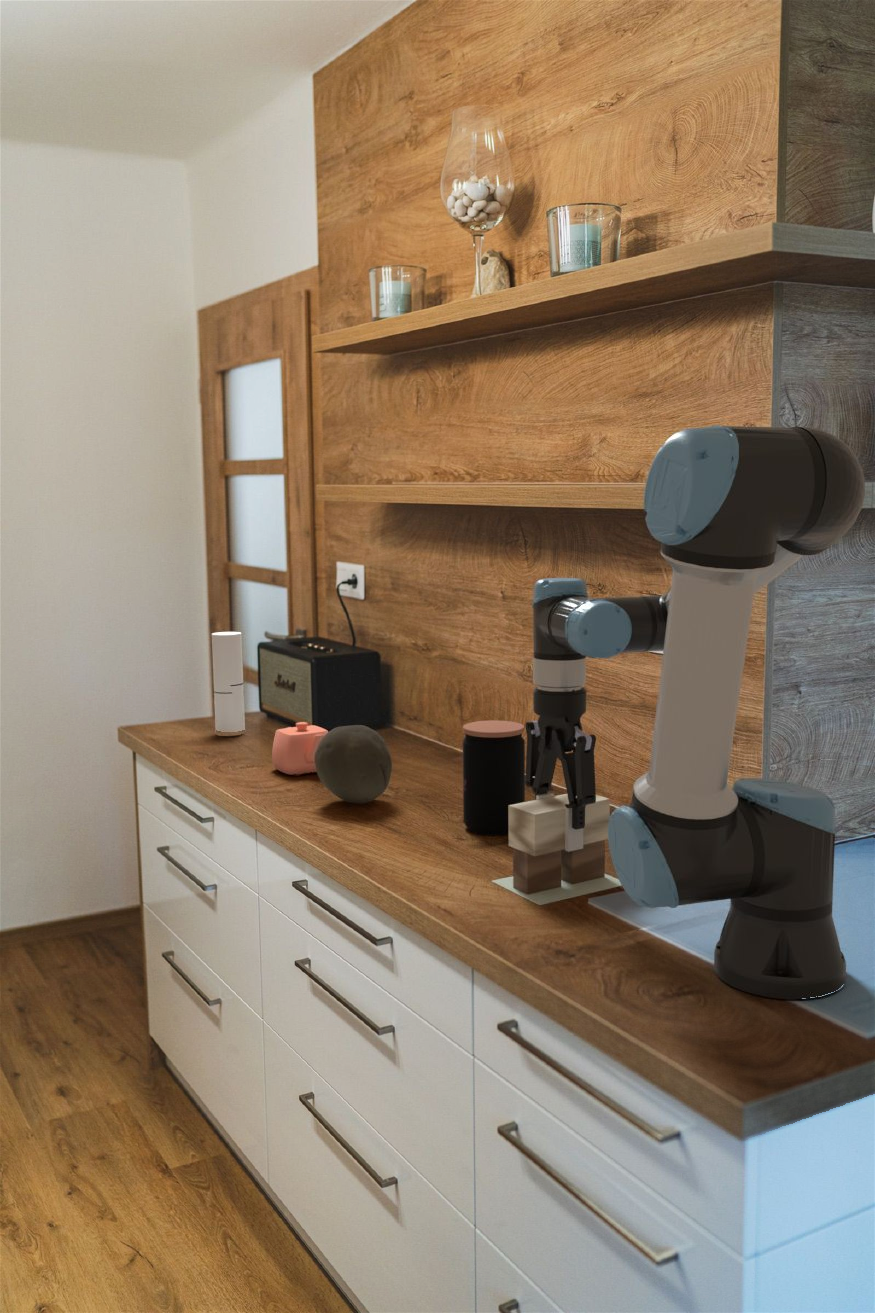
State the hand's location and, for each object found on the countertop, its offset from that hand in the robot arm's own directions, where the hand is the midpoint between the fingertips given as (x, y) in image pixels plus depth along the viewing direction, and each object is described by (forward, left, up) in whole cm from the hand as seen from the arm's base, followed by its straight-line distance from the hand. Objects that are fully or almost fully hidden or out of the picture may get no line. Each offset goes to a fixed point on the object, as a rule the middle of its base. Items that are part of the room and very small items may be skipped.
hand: (559, 843), depth 167 cm
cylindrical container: (+135, -1, -7) cm, 135 cm away
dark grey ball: (+60, +3, -7) cm, 60 cm away
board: (0, 0, -7) cm, 7 cm away
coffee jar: (+32, -10, -7) cm, 34 cm away
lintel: (0, 0, 0) cm, 0 cm away
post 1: (0, +4, -6) cm, 7 cm away
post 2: (0, -4, -6) cm, 7 cm away
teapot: (+89, 0, -7) cm, 89 cm away
